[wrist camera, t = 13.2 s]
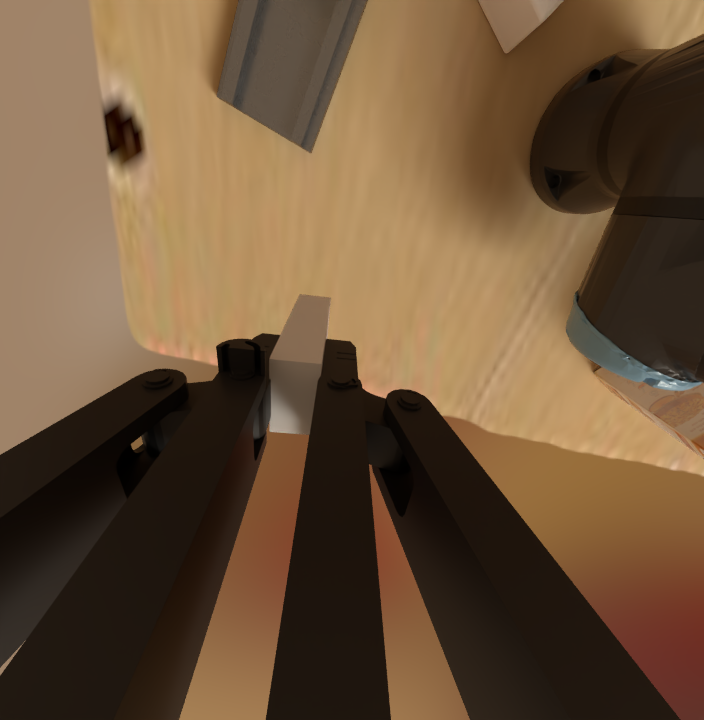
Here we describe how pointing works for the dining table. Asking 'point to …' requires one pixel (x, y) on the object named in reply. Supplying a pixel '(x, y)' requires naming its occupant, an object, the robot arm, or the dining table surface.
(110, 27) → the dining table surface
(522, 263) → the dining table surface
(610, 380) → the coffeecake box
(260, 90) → the guide track
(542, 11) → the medicine bottle
